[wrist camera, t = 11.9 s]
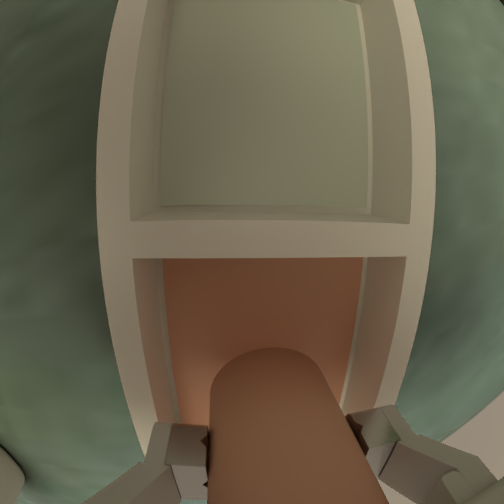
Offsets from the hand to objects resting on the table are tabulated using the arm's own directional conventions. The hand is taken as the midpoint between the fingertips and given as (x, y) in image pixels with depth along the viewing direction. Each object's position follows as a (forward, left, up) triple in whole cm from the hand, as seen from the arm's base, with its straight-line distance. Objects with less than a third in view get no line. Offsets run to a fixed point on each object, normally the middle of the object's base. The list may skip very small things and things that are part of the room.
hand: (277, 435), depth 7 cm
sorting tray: (-5, 0, -5) cm, 7 cm away
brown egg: (0, 0, -2) cm, 2 cm away
